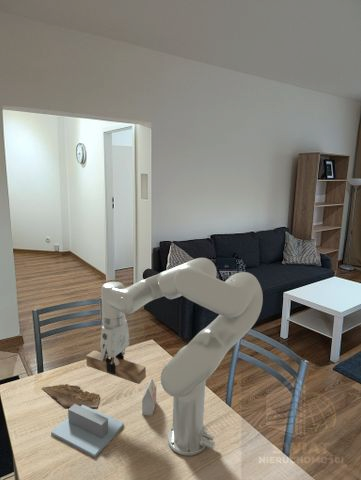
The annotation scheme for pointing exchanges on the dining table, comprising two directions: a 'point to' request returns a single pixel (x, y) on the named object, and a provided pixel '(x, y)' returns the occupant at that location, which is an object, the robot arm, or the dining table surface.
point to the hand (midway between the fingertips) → (115, 368)
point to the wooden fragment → (72, 395)
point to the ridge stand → (87, 429)
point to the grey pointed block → (149, 399)
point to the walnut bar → (118, 367)
